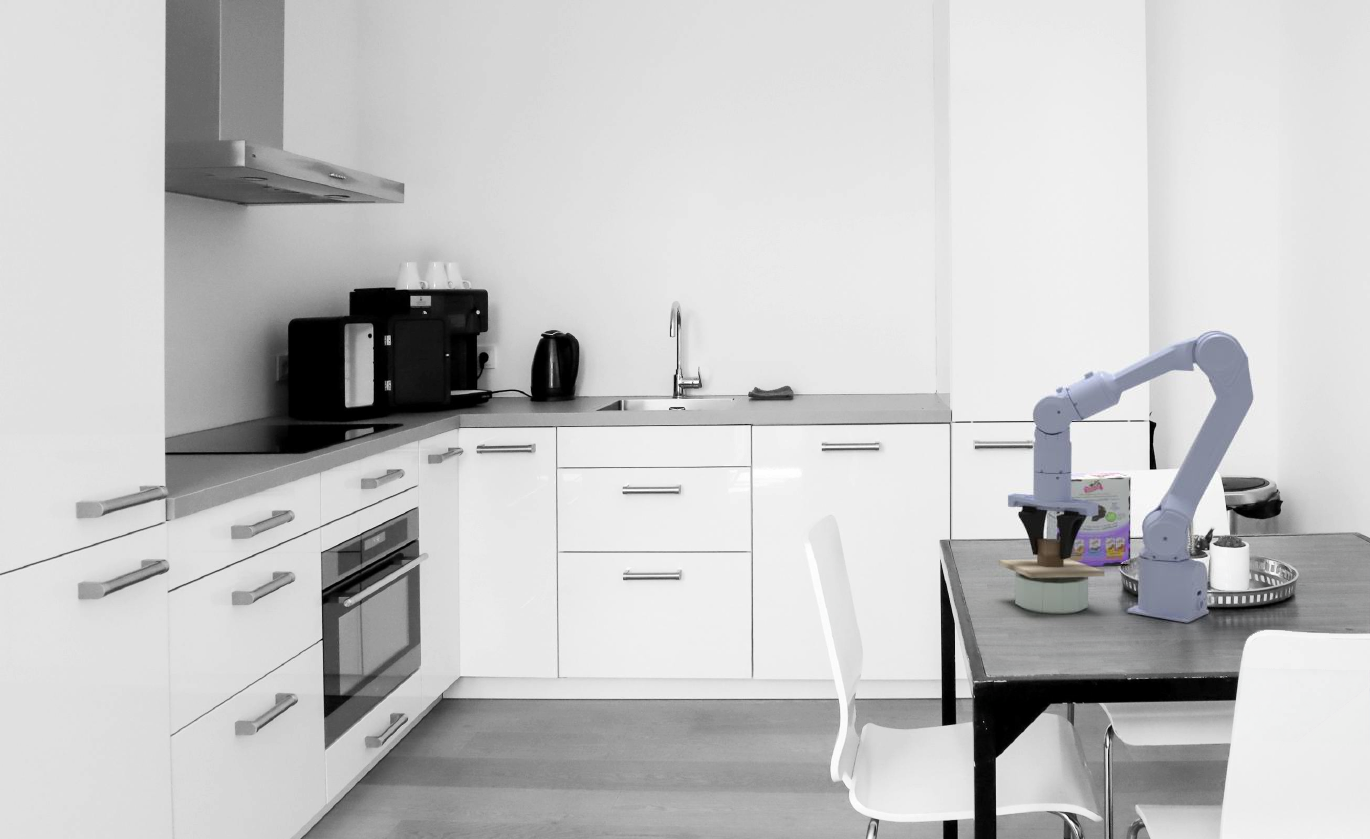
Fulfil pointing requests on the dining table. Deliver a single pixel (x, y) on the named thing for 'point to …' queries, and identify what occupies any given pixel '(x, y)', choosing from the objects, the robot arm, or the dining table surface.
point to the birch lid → (1050, 563)
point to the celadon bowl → (1051, 594)
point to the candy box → (1099, 519)
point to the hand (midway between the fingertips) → (1051, 555)
